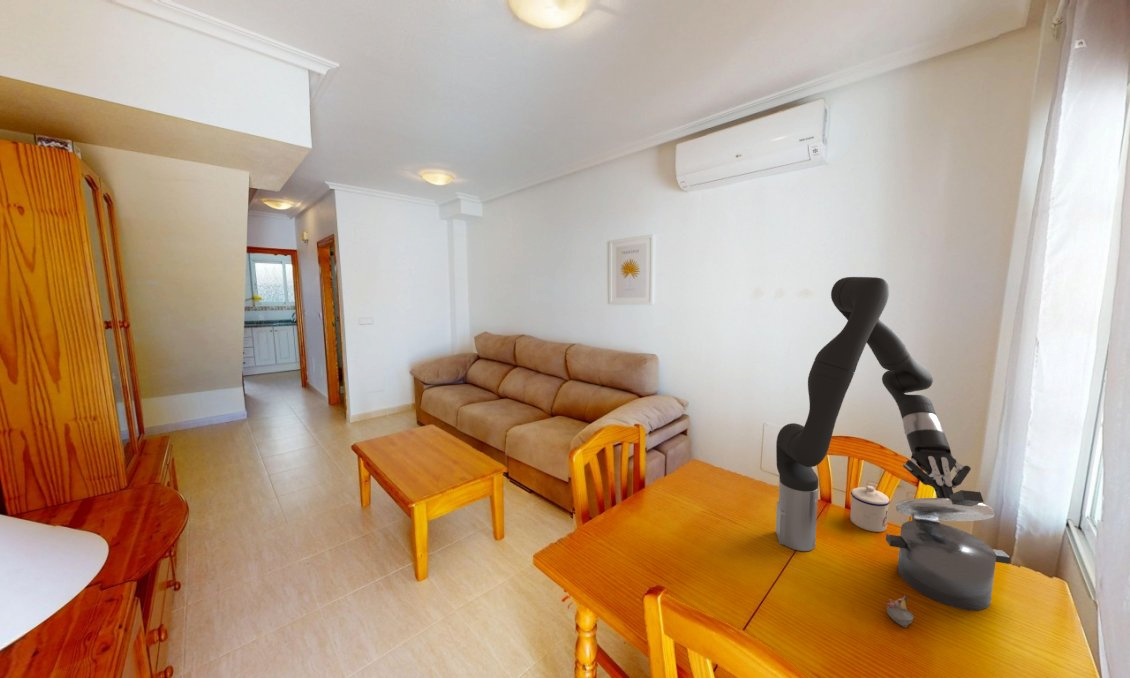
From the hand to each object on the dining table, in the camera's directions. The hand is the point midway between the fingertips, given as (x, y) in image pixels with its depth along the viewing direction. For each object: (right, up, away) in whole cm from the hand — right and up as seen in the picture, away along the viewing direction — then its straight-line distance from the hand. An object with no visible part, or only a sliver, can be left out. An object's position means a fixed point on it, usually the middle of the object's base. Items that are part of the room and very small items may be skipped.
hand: (948, 504), depth 91 cm
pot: (+1, -20, +2) cm, 20 cm away
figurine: (-17, -22, -7) cm, 29 cm away
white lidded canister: (+2, -17, +27) cm, 32 cm away
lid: (0, -2, 0) cm, 2 cm away
